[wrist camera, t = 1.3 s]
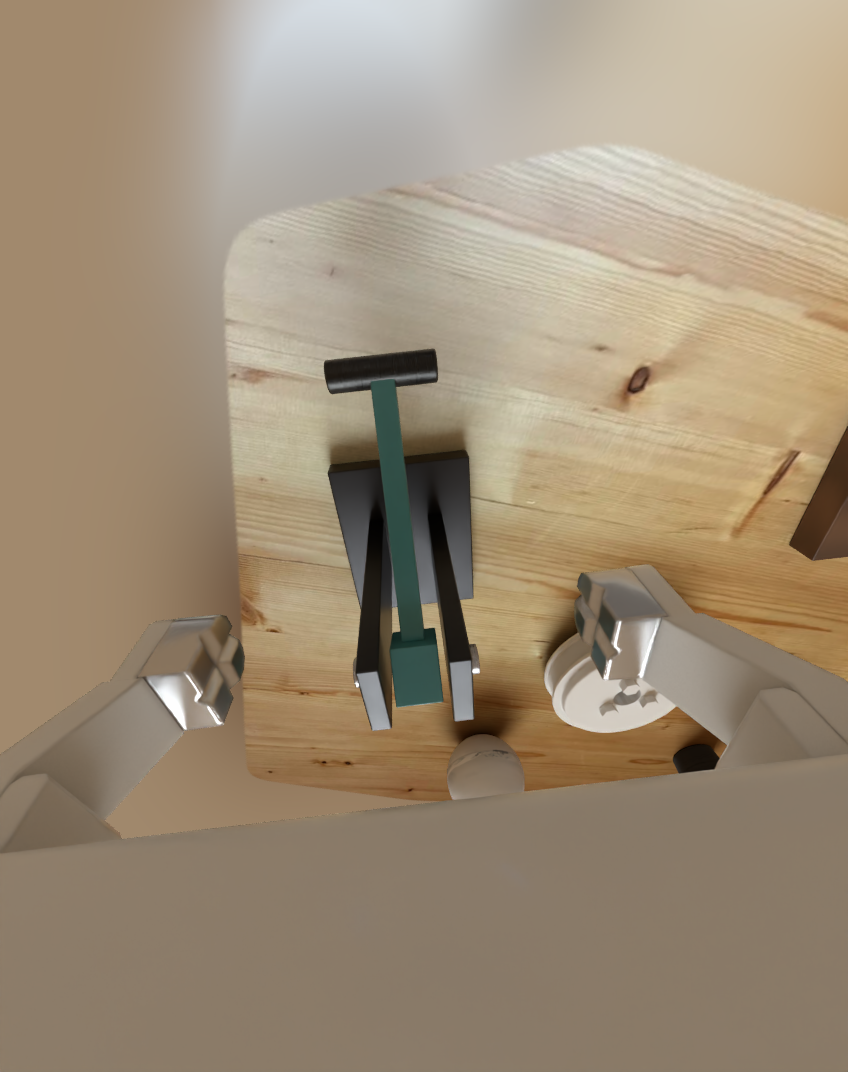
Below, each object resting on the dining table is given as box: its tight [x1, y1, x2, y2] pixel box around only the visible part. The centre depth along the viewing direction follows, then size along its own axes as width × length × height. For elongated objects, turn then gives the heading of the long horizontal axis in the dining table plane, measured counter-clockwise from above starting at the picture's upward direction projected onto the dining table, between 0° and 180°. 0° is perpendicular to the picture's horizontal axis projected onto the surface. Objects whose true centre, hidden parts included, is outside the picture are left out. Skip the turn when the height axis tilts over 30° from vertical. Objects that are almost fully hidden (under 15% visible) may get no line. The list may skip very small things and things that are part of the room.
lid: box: [544, 633, 676, 732], centre depth 37 cm, size 13×13×5 cm
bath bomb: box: [447, 734, 524, 800], centre depth 42 cm, size 8×8×8 cm
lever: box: [324, 349, 443, 707], centre depth 19 cm, size 16×5×2 cm, turn 5°
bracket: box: [328, 450, 480, 731], centre depth 24 cm, size 12×9×14 cm
